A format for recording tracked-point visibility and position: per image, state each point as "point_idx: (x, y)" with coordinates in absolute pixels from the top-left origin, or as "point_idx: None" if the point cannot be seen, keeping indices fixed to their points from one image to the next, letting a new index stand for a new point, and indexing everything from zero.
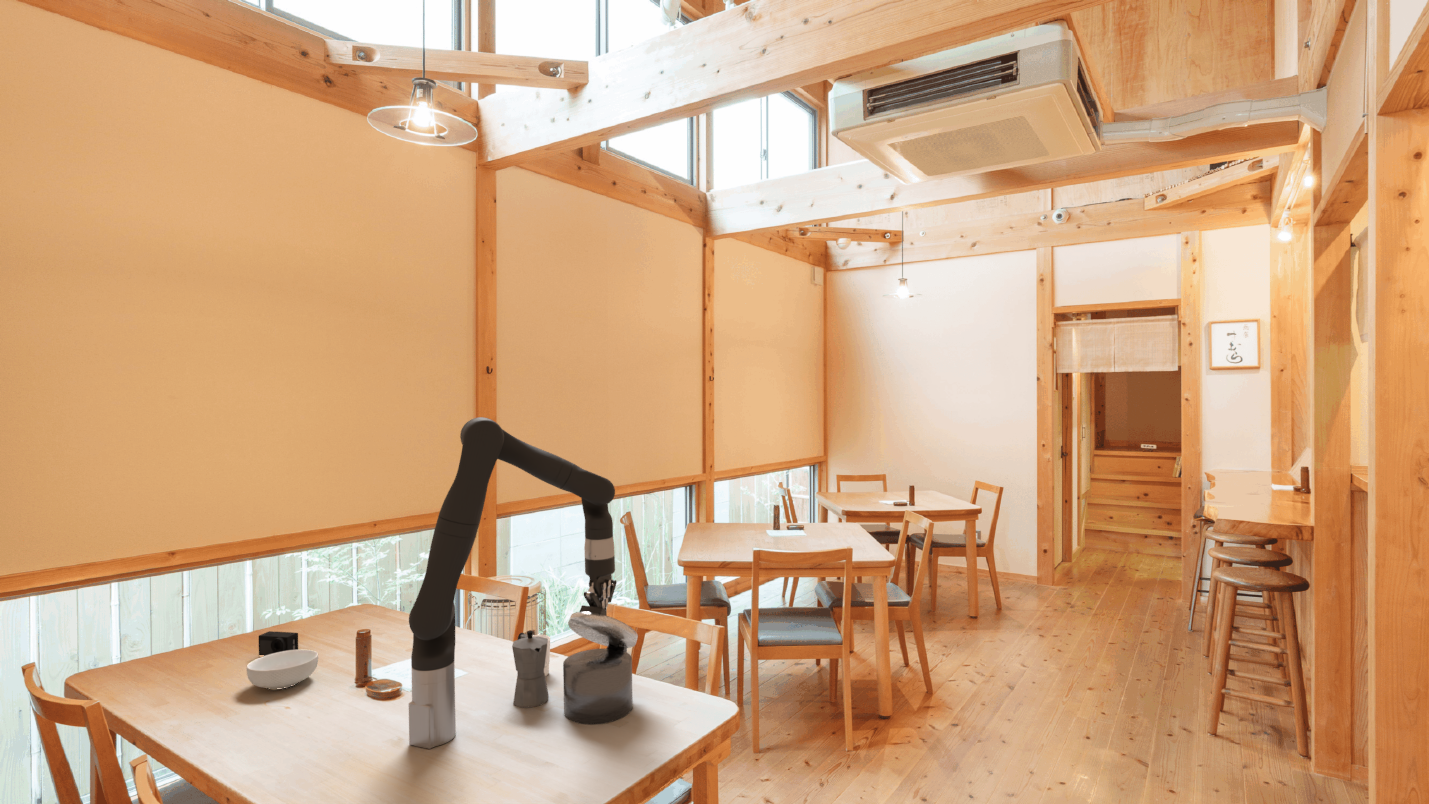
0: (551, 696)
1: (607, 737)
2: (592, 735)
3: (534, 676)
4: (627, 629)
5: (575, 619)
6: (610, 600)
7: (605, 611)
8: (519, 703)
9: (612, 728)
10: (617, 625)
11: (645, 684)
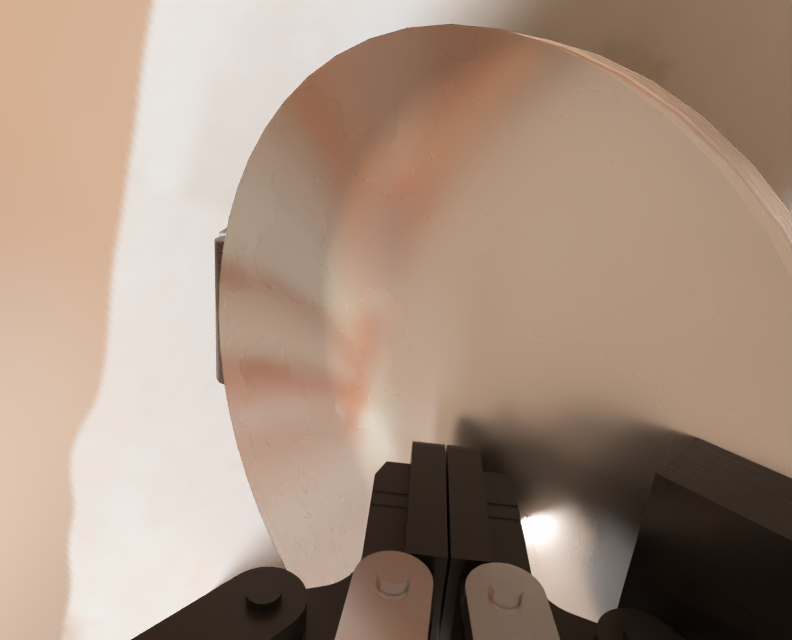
0: None
1: (785, 77)
2: (768, 161)
3: None
4: (618, 69)
5: None
6: (274, 590)
7: (701, 488)
8: None
9: (688, 93)
10: (762, 185)
11: (176, 131)
